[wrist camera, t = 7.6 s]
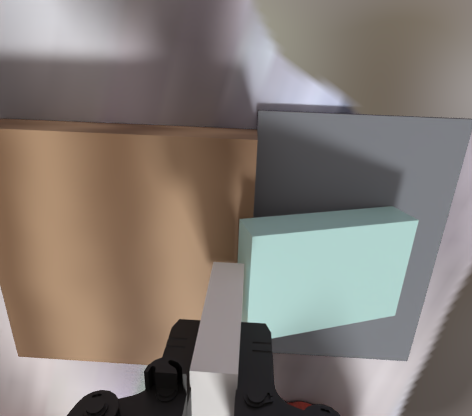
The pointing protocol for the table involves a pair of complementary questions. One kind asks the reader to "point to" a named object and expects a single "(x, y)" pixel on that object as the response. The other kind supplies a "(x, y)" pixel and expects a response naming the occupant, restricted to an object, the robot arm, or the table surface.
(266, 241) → the mint green block
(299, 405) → the stacking bear
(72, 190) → the tan flat square slab
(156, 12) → the table surface
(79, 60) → the table surface
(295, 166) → the mat
